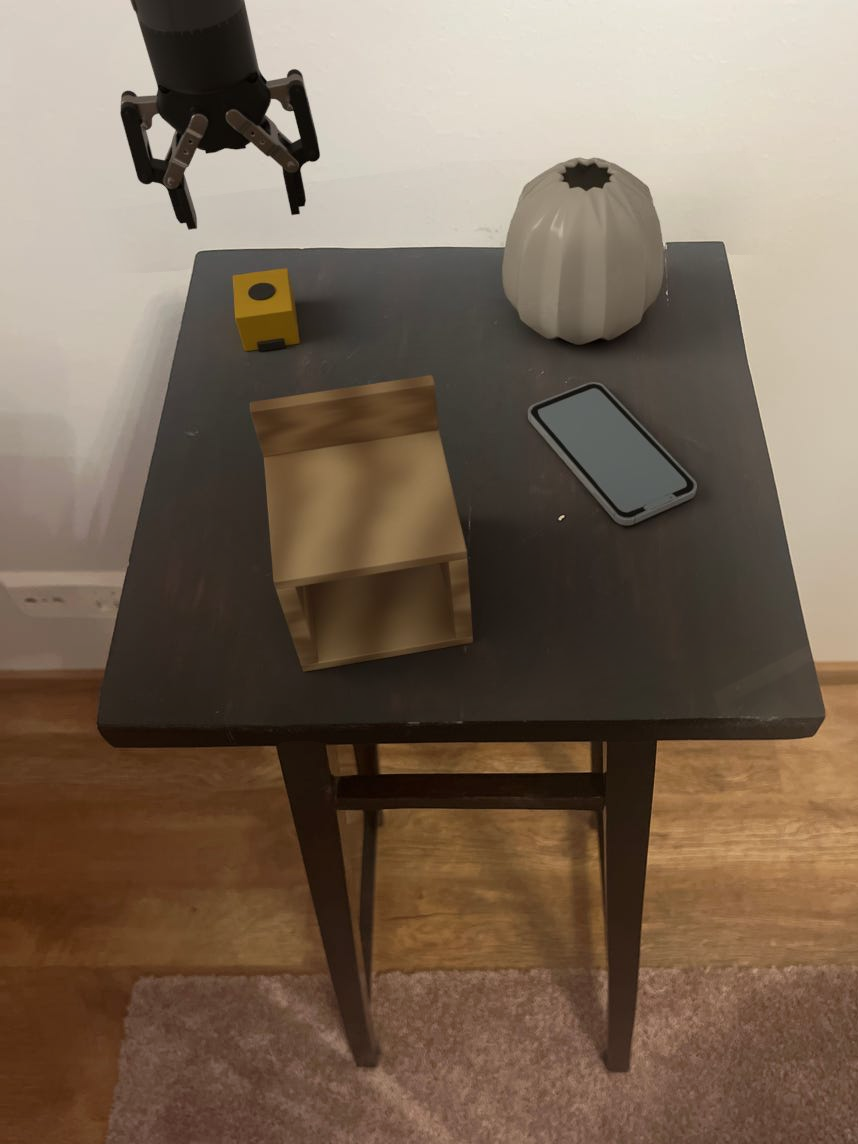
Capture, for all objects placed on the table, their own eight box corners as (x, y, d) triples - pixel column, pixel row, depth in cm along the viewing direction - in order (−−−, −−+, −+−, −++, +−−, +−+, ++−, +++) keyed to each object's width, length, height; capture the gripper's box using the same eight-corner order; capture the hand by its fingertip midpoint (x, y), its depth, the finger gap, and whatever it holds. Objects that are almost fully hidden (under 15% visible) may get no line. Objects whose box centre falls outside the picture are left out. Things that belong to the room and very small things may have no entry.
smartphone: (598, 378, 83) (703, 488, 75) (597, 386, 84) (701, 495, 76) (522, 408, 81) (622, 523, 73) (522, 416, 82) (621, 531, 74)
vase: (531, 259, 94) (532, 119, 83) (672, 285, 91) (692, 144, 80) (482, 347, 87) (476, 206, 76) (633, 378, 84) (649, 236, 73)
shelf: (303, 672, 68) (259, 539, 56) (291, 543, 74) (249, 401, 63) (473, 643, 69) (463, 506, 57) (445, 518, 75) (432, 374, 64)
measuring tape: (244, 354, 88) (234, 319, 85) (241, 308, 92) (231, 273, 88) (300, 346, 88) (292, 311, 85) (294, 301, 92) (287, 266, 89)
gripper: (287, -34, 70) (325, 181, 84) (88, -10, 69) (158, 204, 83) (295, 12, 66) (333, 230, 80) (82, 38, 65) (157, 255, 78)
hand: (243, 216), depth 81 cm, fingers open, 8 cm apart
